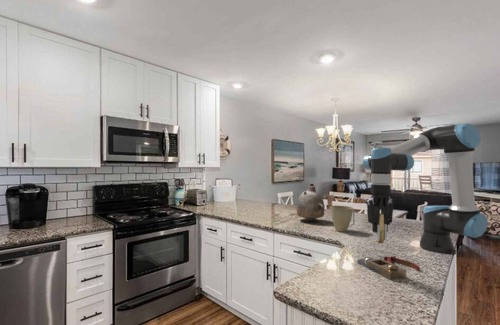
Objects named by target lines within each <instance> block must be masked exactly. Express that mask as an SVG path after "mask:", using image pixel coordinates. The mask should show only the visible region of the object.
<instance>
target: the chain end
mask: <svg viewBox="0 0 500 325" xmlns="http://www.w3.org/2000/svg"><path fill="white" fill-rule="evenodd" d="M371 259H374V258H373V257H371V256H365V257H363V258H360V259H357V264H359V265H361V266H362V265H363V266H362V267H365V268H366V269H368V270H370V271H372V272H374V273H376V274H378V275H380V271H379V270H377V269H375V268H373V267H371V266H369V265H367V264H366V260H371ZM378 265H383V264H381V263H380V264H378Z"/></svg>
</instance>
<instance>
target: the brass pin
mask: <svg viewBox="0 0 500 325" xmlns="http://www.w3.org/2000/svg"><path fill="white" fill-rule="evenodd" d="M378 225H380V241H377V240H375V242H376V243H377V244H385V240H384V214H382V213H381V212H380V214H379V222H378Z"/></svg>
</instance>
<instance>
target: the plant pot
mask: <svg viewBox="0 0 500 325" xmlns="http://www.w3.org/2000/svg"><path fill="white" fill-rule="evenodd" d="M329 208H330V216H331V220H332V223H333V227H334V229H335V231H337V232H341V233H342V232H347V231H348V229H349V226H350V223H351V220H352V217H353V212H354V207H352V206H348V205H347V206H346V205H331V206H329Z"/></svg>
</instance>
